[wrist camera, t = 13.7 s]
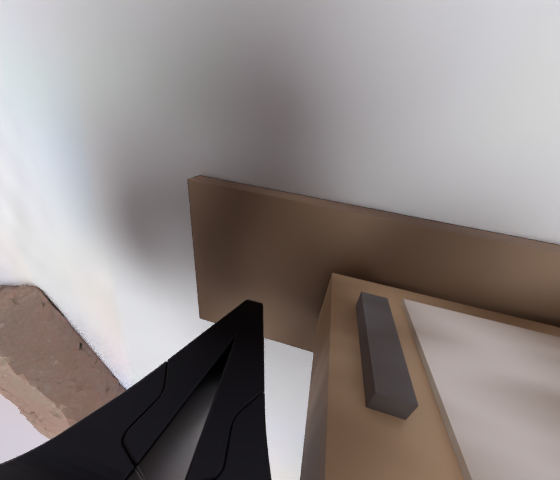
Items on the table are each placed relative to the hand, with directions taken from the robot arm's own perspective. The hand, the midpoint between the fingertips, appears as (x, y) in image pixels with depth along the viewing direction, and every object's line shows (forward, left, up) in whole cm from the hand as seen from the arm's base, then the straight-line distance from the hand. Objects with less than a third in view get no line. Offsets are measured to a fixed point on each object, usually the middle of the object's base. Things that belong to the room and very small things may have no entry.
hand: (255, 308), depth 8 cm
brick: (+2, +25, -3) cm, 25 cm away
